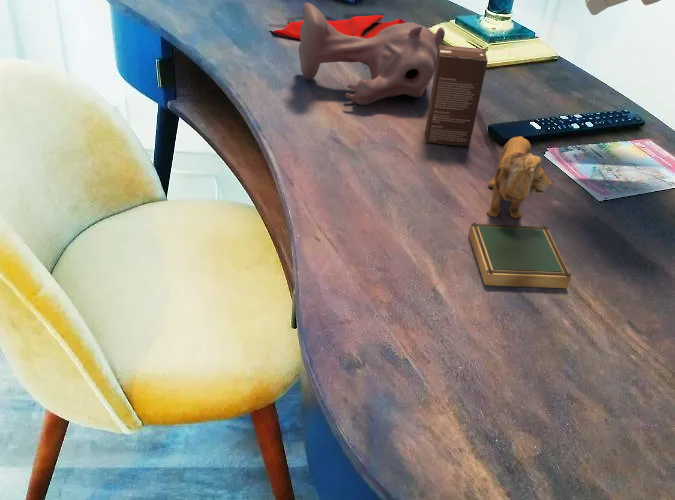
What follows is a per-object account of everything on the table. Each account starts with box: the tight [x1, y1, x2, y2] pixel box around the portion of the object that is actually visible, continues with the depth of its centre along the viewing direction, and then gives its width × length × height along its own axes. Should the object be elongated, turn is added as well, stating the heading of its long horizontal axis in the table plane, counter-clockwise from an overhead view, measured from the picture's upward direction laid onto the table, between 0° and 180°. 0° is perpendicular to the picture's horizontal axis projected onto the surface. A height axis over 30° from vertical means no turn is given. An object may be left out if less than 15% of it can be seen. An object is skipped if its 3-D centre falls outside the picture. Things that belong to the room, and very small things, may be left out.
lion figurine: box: [486, 135, 553, 219], centre depth 73 cm, size 15×5×9 cm, turn 174°
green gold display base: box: [468, 222, 572, 289], centre depth 67 cm, size 8×8×2 cm
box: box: [425, 44, 489, 148], centre depth 84 cm, size 6×4×12 cm
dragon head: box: [298, 2, 446, 106], centre depth 94 cm, size 14×13×20 cm
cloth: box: [272, 14, 407, 40], centre depth 115 cm, size 26×14×2 cm, turn 100°
